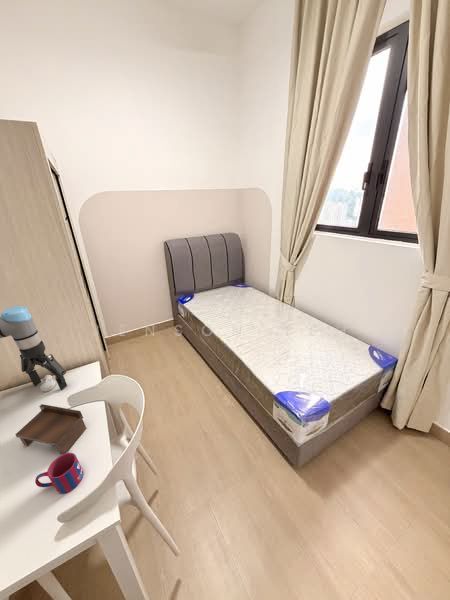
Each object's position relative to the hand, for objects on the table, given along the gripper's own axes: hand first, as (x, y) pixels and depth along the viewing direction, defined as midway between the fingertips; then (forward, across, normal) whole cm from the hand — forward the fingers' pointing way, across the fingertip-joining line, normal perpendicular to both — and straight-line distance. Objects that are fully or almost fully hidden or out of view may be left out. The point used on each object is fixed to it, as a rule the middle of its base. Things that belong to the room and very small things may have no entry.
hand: (50, 385), depth 101 cm
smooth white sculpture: (0, 0, 0) cm, 0 cm away
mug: (0, -37, +30) cm, 48 cm away
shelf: (0, -23, +19) cm, 30 cm away
